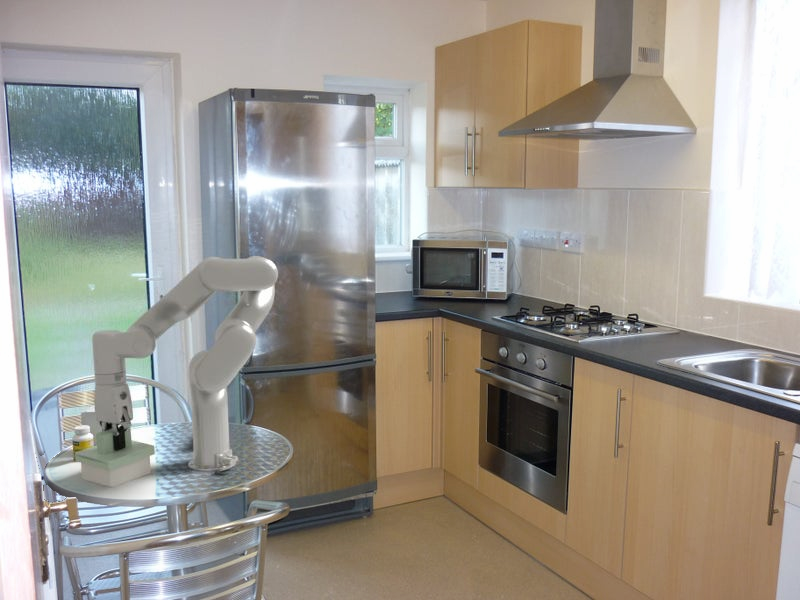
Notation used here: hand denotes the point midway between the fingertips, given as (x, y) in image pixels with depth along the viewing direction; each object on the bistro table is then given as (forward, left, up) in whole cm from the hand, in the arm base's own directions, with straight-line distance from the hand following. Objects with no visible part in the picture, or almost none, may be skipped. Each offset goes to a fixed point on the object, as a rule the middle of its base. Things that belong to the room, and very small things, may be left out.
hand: (115, 447), depth 196 cm
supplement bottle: (+20, -4, -9) cm, 22 cm away
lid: (0, 0, -3) cm, 3 cm away
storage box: (0, 0, -8) cm, 8 cm away
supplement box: (+24, -12, -9) cm, 28 cm away
